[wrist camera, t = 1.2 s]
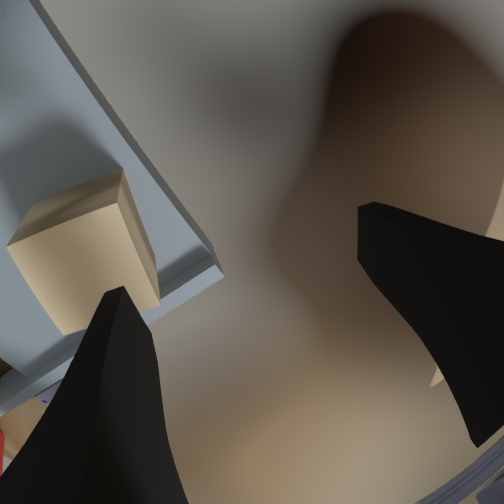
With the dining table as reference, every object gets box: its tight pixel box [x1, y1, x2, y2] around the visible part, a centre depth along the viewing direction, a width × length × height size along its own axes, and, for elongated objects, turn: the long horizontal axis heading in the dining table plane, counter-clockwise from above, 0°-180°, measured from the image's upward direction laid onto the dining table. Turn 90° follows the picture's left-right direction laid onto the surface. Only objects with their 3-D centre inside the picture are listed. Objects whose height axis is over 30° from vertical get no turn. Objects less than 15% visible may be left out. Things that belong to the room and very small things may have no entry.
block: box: [6, 169, 161, 335], centre depth 13 cm, size 5×5×4 cm
